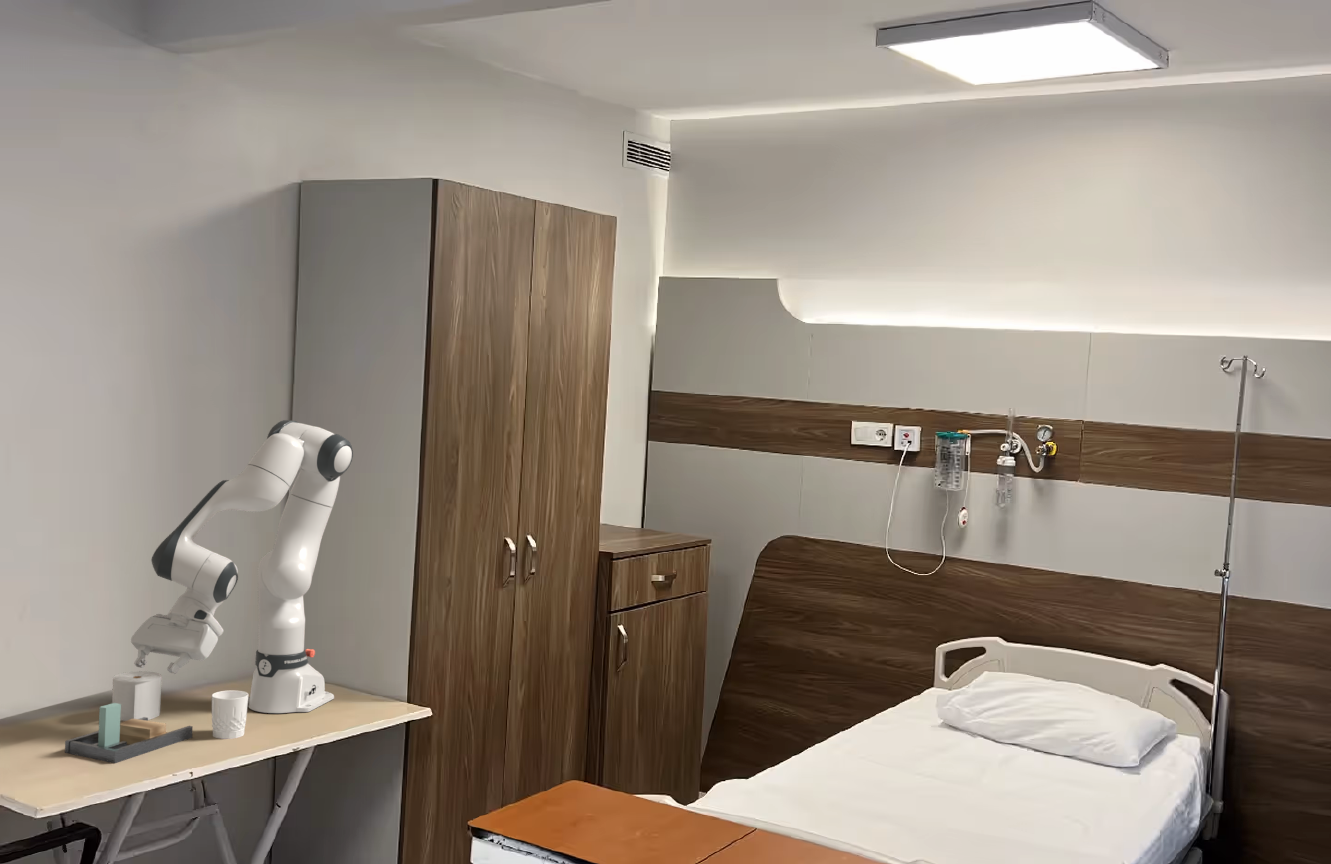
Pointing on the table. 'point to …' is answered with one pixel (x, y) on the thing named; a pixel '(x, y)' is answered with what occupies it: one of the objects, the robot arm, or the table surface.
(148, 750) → the tray
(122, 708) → the toilet tissue
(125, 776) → the table surface
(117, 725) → the sage board
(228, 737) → the white cup
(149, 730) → the offcut stack
